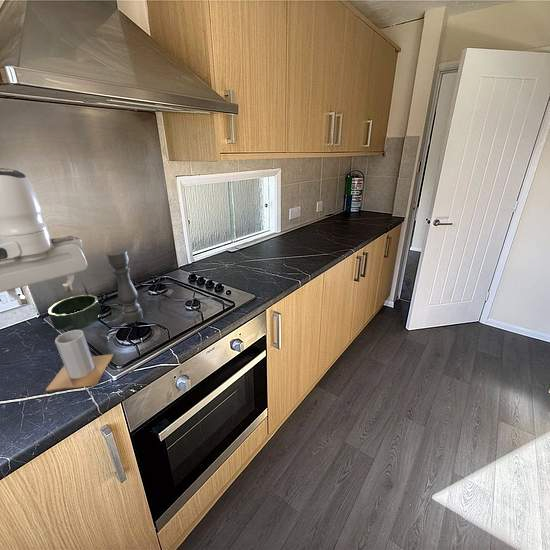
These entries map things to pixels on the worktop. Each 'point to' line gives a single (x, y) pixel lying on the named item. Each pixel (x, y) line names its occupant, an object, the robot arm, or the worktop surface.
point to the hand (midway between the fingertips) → (47, 296)
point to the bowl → (77, 318)
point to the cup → (75, 353)
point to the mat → (89, 380)
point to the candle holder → (125, 286)
